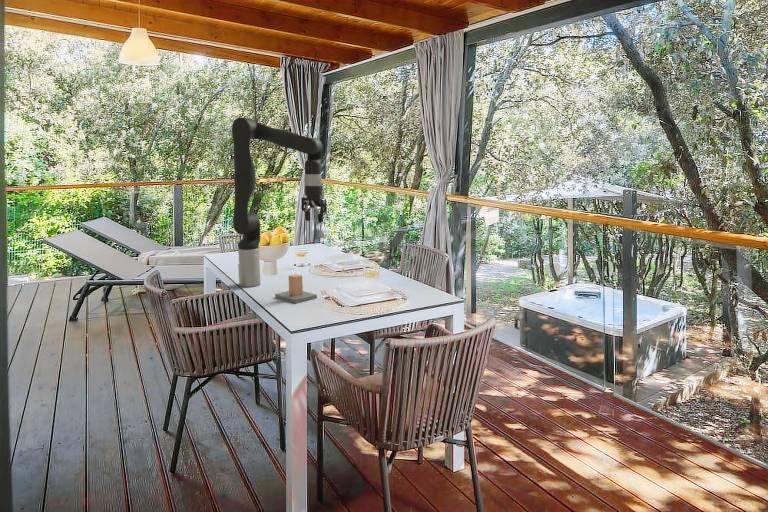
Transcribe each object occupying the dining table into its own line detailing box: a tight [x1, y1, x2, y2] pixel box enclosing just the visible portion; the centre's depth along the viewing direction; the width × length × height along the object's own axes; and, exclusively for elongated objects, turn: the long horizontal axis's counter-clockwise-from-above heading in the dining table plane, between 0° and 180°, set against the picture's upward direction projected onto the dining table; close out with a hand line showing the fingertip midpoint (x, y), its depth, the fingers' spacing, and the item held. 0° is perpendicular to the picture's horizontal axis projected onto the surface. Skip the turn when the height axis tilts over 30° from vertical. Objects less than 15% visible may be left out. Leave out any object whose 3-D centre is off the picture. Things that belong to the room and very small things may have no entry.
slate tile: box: [274, 290, 318, 304], centre depth 229 cm, size 14×11×2 cm
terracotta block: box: [288, 274, 304, 296], centre depth 229 cm, size 4×4×8 cm
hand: (314, 221), depth 241 cm, fingers open, 8 cm apart
